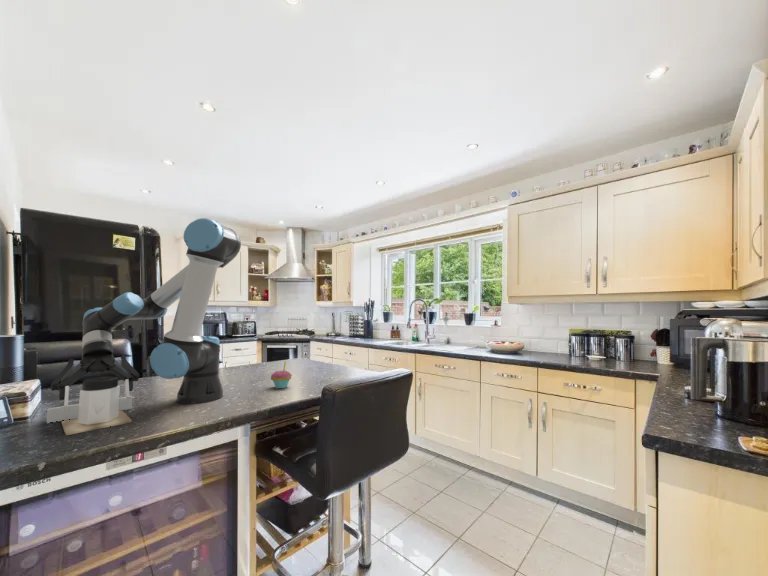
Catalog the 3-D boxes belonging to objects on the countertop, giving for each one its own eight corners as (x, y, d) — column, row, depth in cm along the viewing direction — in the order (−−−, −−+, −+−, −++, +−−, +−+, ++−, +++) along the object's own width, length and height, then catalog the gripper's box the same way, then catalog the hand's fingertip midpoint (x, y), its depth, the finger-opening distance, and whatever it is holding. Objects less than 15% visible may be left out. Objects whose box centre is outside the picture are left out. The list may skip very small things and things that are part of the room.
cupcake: (294, 385, 146) (294, 357, 147) (286, 390, 137) (287, 360, 138) (275, 385, 147) (275, 357, 147) (266, 389, 138) (267, 360, 139)
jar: (76, 427, 91) (79, 383, 92) (78, 420, 97) (81, 378, 98) (118, 420, 97) (120, 378, 98) (117, 414, 103) (120, 374, 104)
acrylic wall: (130, 407, 112) (131, 395, 112) (131, 408, 111) (132, 396, 111) (46, 422, 97) (47, 408, 97) (46, 423, 96) (47, 409, 96)
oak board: (122, 412, 106) (122, 410, 106) (131, 422, 97) (131, 420, 97) (61, 423, 96) (61, 421, 96) (65, 435, 87) (66, 433, 87)
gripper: (142, 351, 119) (147, 403, 107) (42, 358, 101) (36, 420, 89) (146, 337, 115) (152, 389, 103) (43, 342, 98) (36, 404, 86)
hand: (98, 403), depth 96 cm, fingers open, 13 cm apart
